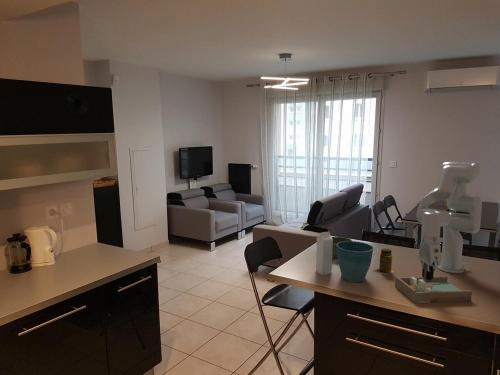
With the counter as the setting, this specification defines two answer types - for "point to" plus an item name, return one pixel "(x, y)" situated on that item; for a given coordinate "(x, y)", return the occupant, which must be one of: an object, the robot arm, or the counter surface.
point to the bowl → (336, 241)
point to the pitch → (431, 290)
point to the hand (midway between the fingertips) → (427, 277)
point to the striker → (426, 281)
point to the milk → (324, 253)
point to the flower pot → (354, 260)
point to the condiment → (385, 262)
